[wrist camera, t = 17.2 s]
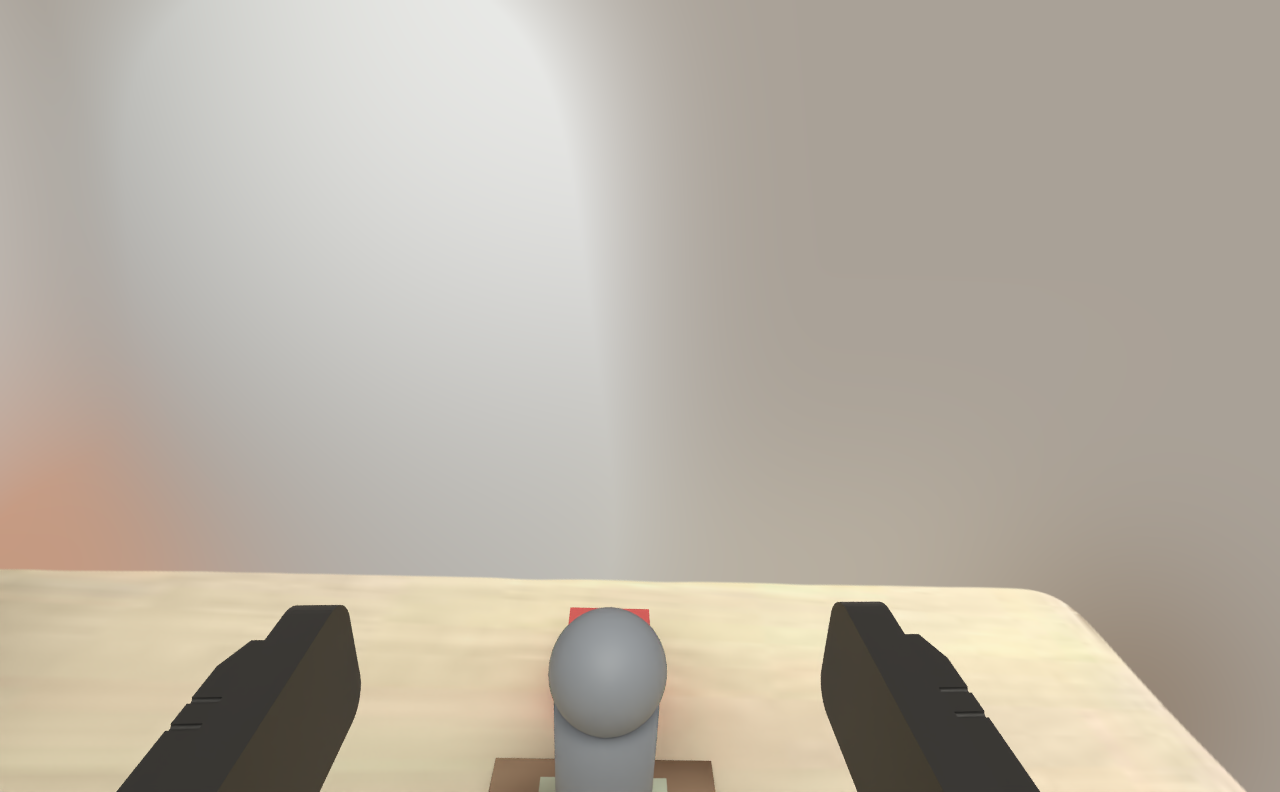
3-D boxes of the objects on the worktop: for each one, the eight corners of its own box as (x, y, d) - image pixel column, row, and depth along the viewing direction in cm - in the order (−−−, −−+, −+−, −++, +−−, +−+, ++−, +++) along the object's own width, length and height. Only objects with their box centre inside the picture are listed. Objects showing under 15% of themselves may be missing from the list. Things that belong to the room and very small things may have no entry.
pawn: (537, 826, 30) (529, 605, 24) (621, 780, 32) (632, 569, 26) (577, 929, 26) (579, 696, 20) (670, 868, 28) (695, 645, 23)
